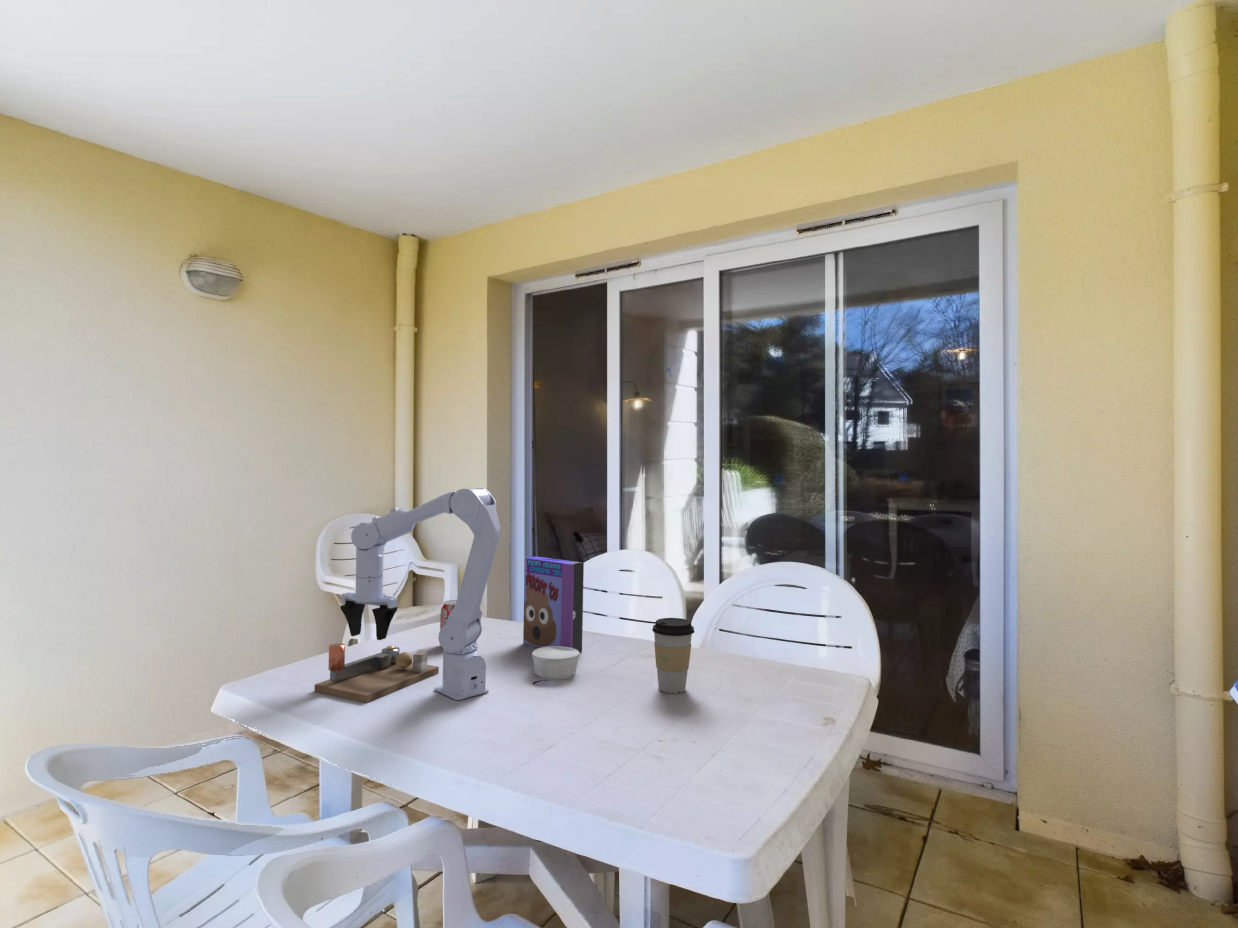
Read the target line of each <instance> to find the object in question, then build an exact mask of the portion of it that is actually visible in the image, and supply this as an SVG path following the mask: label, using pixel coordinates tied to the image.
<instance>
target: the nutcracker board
mask: <svg viewBox="0 0 1238 928" xmlns="http://www.w3.org/2000/svg"><path fill="white" fill-rule="evenodd" d="M439 668H440V667H439V666H437V665H430V664H428V649H418V650H417V651H416V652H415V653H413V654H412V663H411V665H410V666H409V667H407V668H400V667H399V666H398V665H397V664H396V663H395V664H391V665H390V666H387V667H384V668H382V669H381V668H376V667H375V668H373V669H370V670H367V671H364V672H361V673H358V674H356V675H353V676H350V677H347V678H344V679H342V680H339V681H336V682H333V681H330V678H329V679H326V680H324V681H321V682H318V683H315V684H314V693H319V694H324V695H329V696H333V697H338V698H343V699H347V700H352V701H357V702H362V703H366V704H368V703H370V702H372V701H375V700H378V699H380V698H383V697H385V696H387V695H389V694H392V693H395V692H397V691H400V690H402V689H405V688H407V687H409V686H411V685H413V684H416V683H419V682H421V681H424V680H426V679H428V678H430V677H433V676H435V675H437V674H439V672H440V669H439Z"/></svg>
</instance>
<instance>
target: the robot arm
mask: <svg viewBox="0 0 1238 928" xmlns="http://www.w3.org/2000/svg"><path fill="white" fill-rule="evenodd" d="M389 511H390V513H386V514H385V515H383V516H380V517H379V516H375V517H372V519H371V521H370V522H360V523H358V524H357V525H356V526H355V527H354V528H353V529H352V531H351V535H350V536H351V538H350V539H351V542H352V544H353V546H354V547H355V548H356V551H355V552H356V553H355V592H344V593H341V603H344V604H342V605H340V610H341V611H342V613H343V615H344V617H345V619H346V621H347V625H348V629H349V634H350V636H351V637H355V636H359V635H361V632H362V623H363V622H362V621H363V614H364V610H365V607H366V605H369V606H374V607H375V606H377V607H375V608H372V609H371V611H372V614H373V616H374V620H375V635H376V640H377V641H382V640H386V639H387V636H388V633H389V629H390V625H391V623H392V620H393V618H394V616H395V615H396V613H397V611H398V597H394V596H389V595H386V593H384V552H385V547H386V544H387V543H388V542H390V541H393V540H395V539H398V538H400V537H403V536H405V535H407V534H409V533H412V532H413V531H414V528H415V526H416V524H418V523H421V522H423V521H426V520H429V519H432V518H434V517H437V516H439V515H442V514H448V515H449V514H450V515H451V514H454V515H455V517H457V518H458V519H460V520H461V521H462V522H463V523H464V524H466V525H467V527H468V528H469V529H470V531H471V532H472V534H473V539H472V543H471V547H470V550H469V554H468V559H467V562H466V565H465V569H464V573H463V576H462V579H461V584H460V587H459V590H458V595H457V596H456V597H457V598H456V600H457V601H456V605H455V606H454V608H453V609H452V611H451V613H450V614H449V616H448V619H447V622H446V624H445V625H444V626H443V627H442V628H441V630H440V629H439V632H438V642H439V645H440V647H441V649H443V651H442V652H443V653H442V654H443V655H442V685H438V686H435V687H434V690H435V691H437V692H439V693H441V694H443V695H445V696H447V697H449V698H451V699H453V700H454V701H455V700H456V701H460V700H464V699H468V698H472V697H474V696H479V695H482V694H486V693H489V691H490V690H489V689H488V688H486V678H487V677H486V673H487V671H486V669H487V667H486V666H487V665H486V661H485V658H483V657H482V656H481V655H480V653H479V651H478V643H477V642H478V641H477V640H478V639H479V638H480V637H481V634H482V632H483V631H482V630H483V626H482V616H483V612H482V610H481V606H482V605H481V604H482V601H483V597H484V593H485V590H486V587H487V584H488V579H489V575H490V573H491V568H492V564H493V561H494V557H495V554H496V550H497V546H498V543H499V539H500V537H501V536H500V535H501V525H500V520H499V515H498V513H497V512H498V511H497V500H496V499H495V498H494V496H493V495H492V494H491V492H490V491H488V489H486V488H483V487H475V488H460V489H458V490H456V491H451V492H446V493H444V494H442V495H440V496H437V497H436V498H434V499H432V500H430V501H427V502H425V503H422V504H421V505H418V506H416V507H415V508H413V509H410V510H408V509H406V508H399V507H394V508H392V509H390V510H389ZM378 606H379V607H378Z"/></svg>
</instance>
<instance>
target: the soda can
mask: <svg viewBox="0 0 1238 928" xmlns="http://www.w3.org/2000/svg"><path fill="white" fill-rule="evenodd" d="M456 601H457V599H450V600H446V601H445V600H444V601H443V604H442V607H441V609H440V617H439V618H440V625H439V631H440V630H441V628H442V627H443V626H444V625H445V624H446V622H447V619H448V616H449V614H450V613H451V611H452V609H453V608H454V606H455V605H456Z"/></svg>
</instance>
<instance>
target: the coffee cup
mask: <svg viewBox="0 0 1238 928" xmlns="http://www.w3.org/2000/svg"><path fill="white" fill-rule="evenodd" d="M651 629H652V630H651V631H652V632H653V633H654V635H653V636H654V643H653V644H654V654H655V655H654V657H655V667H656V673H657V687H658V689H659V691H660V692H662V691H663V692H662V693H665V692H666V694H672V693H674V694H679V693H678V692H681V693H683V692H682V691H684V690H685V691H686V686H687V678H688V670H689V667H690V659H691V651H692V637H693V636H692V634H694V633H695V627H694V626H693V625H692V622H691V621H690V620H688V619H685V618H680V617H679V618H678V617H663V618H659V619H656V620H655V624H653V625H652V628H651ZM685 691H684V692H685Z"/></svg>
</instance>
